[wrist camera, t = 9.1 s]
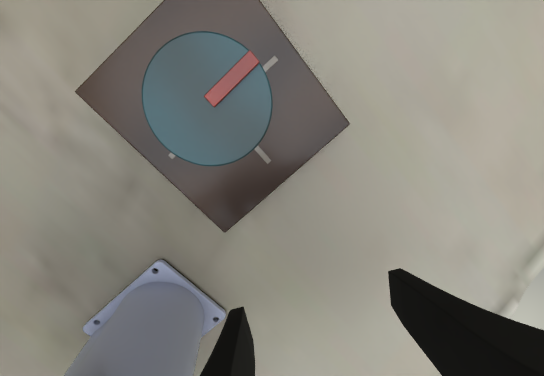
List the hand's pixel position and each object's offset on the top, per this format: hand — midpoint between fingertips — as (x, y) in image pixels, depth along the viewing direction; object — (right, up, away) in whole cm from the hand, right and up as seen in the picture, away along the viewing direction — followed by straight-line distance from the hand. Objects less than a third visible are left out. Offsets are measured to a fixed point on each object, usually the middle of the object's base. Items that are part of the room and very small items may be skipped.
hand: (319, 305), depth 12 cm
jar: (-6, +11, +4) cm, 13 cm away
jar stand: (-6, +11, +6) cm, 14 cm away
